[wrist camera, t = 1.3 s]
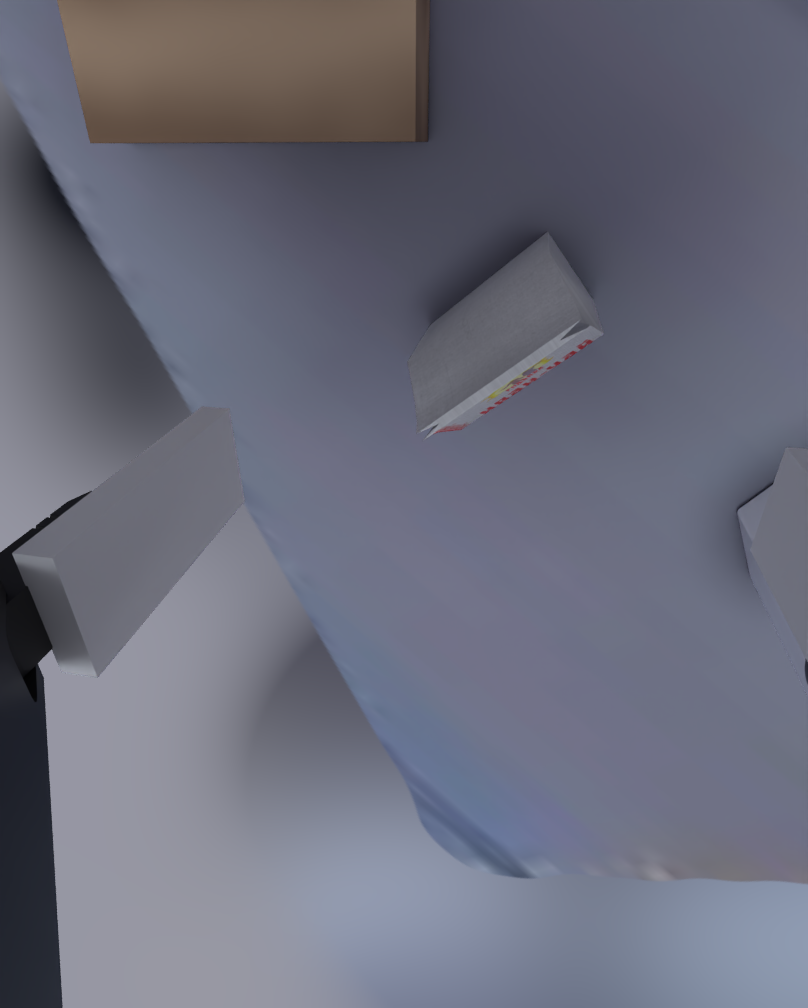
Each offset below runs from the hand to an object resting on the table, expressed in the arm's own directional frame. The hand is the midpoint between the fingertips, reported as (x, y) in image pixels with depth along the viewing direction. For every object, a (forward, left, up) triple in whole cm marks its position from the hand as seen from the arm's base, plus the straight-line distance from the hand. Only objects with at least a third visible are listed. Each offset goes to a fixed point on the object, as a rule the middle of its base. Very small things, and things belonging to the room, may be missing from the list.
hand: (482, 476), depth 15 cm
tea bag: (0, 0, -17) cm, 17 cm away
